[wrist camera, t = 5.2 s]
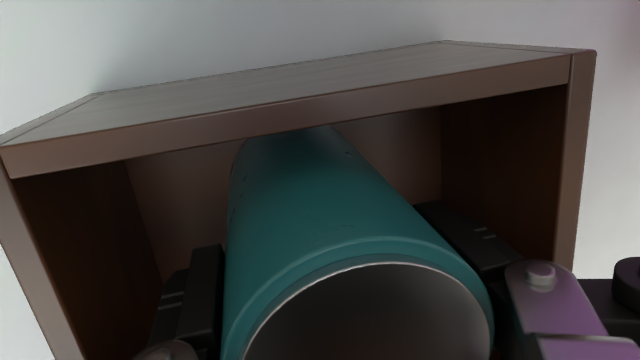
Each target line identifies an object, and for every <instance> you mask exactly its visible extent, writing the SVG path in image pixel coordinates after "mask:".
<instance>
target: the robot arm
mask: <svg viewBox="0 0 640 360" xmlns="http://www.w3.org/2000/svg"><path fill="white" fill-rule="evenodd" d="M412 207H413V208H414V209H415V210H416V211H417V212H418V213H419V214H420V215H421V216H422V217H423V218H424V219H425V220H426V221H427V222H428V223H429V224H430V225H431V226H432V228H433V229H434V230H435V231H436V232H437V233H438V234H439V235H440V236H441V237H442V238H443V239H444V240H445V241H446V242H447V243H448V244H449V245H450V246H451V247H452V248H453V249H454V250H455V251H456V252H457V253H458V254H459V255H460V256H461V257H462V258H463V259H464V261H465V262H466V263H467V264H468V265H469V266H470V267H471V268H472V269H473V270H474V271H475V272H476V273H477V275H478V276H479V278H480V279H481V281H482V282H483V284H484V285H485V287H486V290H487V292H488V294H489V297H490V299H491V303H492V307H493V311H494V318H495V337H494V345H493V349H492V350H495V349H496V350H497V351H498V352H499V353H500V355H501V360H640V257H630V258H625V259H622V260H620V261H618V262H617V263H616V265H615V267H614V273H613V279H576V277H575V276H574V274H573V273H572V272H571V271H569V270H568V269H567V268H565V267H563V266H561V265H559V264H557V263H554V262H551V261H547V260H541V259H525V258H524V257H523V256H521V255H520V254H519V253H518V252H516V251H515V250H514V249H513V248H511V247H510V246H509V245H508V244H507V243H505V242H504V241H503V240H502V239H500V238H499V237H496V235H495V234H494V233H493V232H492V231H490V230H489V229H487V227H485V226H484V225H483V224H482V223H481V222H479V221H478V220H477V219H476V218H473V217H471V216H468V215H465V214H463V213H460V212H457V213H454V212H452V211H451V210H450V209H449V208H448V207H447V206H446V205H444V204H443V203H442V202H441V201H440V200H433V201H428V202H423V203H418V204H413V205H412ZM224 268H225V255H224V251H223V248H222V245H221V243H218V244H213V245H208V246H203V247H198V248H194V249H193V250H192V255H191V260H190V265H189V268H185V269H181V270H176V271H175V272H174V273H173V274H172V275H171V276H170V278H169V279H168V280H167V281H166V282H165V283H164V287H163V290H162V294H161V299H160V301H159V305H158V311H157V312H156V315H155V319H154V322H153V326H152V330H151V333H150V337H149V340H148V344H147V347H146V348H145V349H143V350H142V351H140V352H139V353H137V354H136V355H135V356H134V357H133V358H132V359H131V360H220V347H221V328H222V308H223V288H224Z"/></svg>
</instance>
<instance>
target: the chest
mask: <svg viewBox="0 0 640 360" xmlns="http://www.w3.org/2000/svg"><path fill="white" fill-rule="evenodd" d="M596 56H597V52H596V50H592V49H576V48H560V47H544V46H529V45H513V44H497V43H481V42H465V41H450V40H444V41H437V42H430V43H424V44H417V45H411V46H404V47H398V48H391V49H384V50H378V51H371V52H365V53H358V54H351V55H345V56H338V57H332V58H325V59H318V60H312V61H305V62H299V63H292V64H285V65H279V66H272V67H266V68H259V69H252V70H246V71H239V72H233V73H226V74H219V75H213V76H206V77H200V78H193V79H186V80H180V81H173V82H167V83H160V84H153V85H147V86H140V87H134V88H127V89H120V90H114V91H107V92H101V93H94V94H89V95H87V96H85V97H83V98H81V99H78V100H76V101H74V102H72V103H70V104H67V105H65V106H63V107H61V108H59V109H56V110H54V111H52V112H50V113H48V114H45V115H43V116H41V117H39V118H37V119H34V120H32V121H30V122H28V123H26V124H23V125H21V126H19V127H17V128H15V129H12V130H10V131H8V132H6V133H4V134H1V135H0V243H1V245H2V248H3V250H4V252H5V254H6V256H7V258H8V260H9V262H10V264H11V267H12V269H13V271H14V273H15V275H16V277H17V279H18V281H19V284H20V286H21V288H22V290H23V292H24V294H25V296H26V298H27V300H28V303H29V305H30V307H31V309H32V311H33V313H34V315H35V317H36V320H37V322H38V324H39V326H40V328H41V330H42V332H43V334H44V336H45V339H46V341H47V343H48V345H49V347H50V349H51V351H52V353H53V355H54V358H55V360H131V359H132V358H133V357H134V356H135V355H136V354H137V353H139V352H140V351H142V350H143V349H145V348H146V347H147V344H148V340H149V337H150V333H151V330H152V326H153V322H154V319H155V315H156V312H157V311H158V305H159V301H160V299H161V294H162V290H163V287H164V283H165V282H166V281H167V280H168V279H169V278H170V276H171V275H172V274H173V273H174V272H175V271H176V270H181V269H185V268H189V265H190V260H191V255H192V250H193V249H194V248H198V247H203V246H208V245H213V244H218V243H221V245H222V248H223V251H224V255H225V248H226V228H227V208H228V188H229V176H230V171H231V167H232V164H233V161H234V159H235V157H236V155H237V153H238V152H239V150H240V148H241V147H242V146H243V145H244V143H245V142H246V141H247V140H248V139H249V138H255V137H261V136H267V135H272V134H278V133H284V132H290V131H296V130H301V129H307V128H313V127H319V126H325V125H329V126H330V127H332V128H334V129H336V130H337V131H338V132H340V133H341V134H342V135H343V136H344V137H345V138H346V139H347V140H348V141H349V142H350V143H351V144H352V145H353V146H354V147H355V148H356V149H357V150H358V151H359V152H360V153H361V154H362V155H363V156H364V157H365V158H366V159H367V161H368V162H369V163H370V164H371V165H372V166H373V167H374V168H375V169H376V170H377V171H378V172H379V173H380V174H381V175H382V176H383V177H384V178H385V179H386V180H387V181H388V182H389V183H390V184H391V185H392V186H393V187H394V188H395V189H396V190H397V191H398V192H399V194H400V195H401V196H402V197H403V198H404V199H405V200H406V201H407V202H408V203H409V204H410V205H411V206H412V205H413V204H418V203H423V202H428V201H433V200H440V201H441V202H442V203H443V204H444V205H446V206H447V207H448V208H449V209H450V210H451V211H452V212H454V213H457V212H460V213H463V214H465V215H468V216H471V217H473V218H476V219H477V220H478V221H479V222H481V223H482V224H483V225H484V226H485V227H487V229H489V230H490V231H492V232H493V233H494V234H495V235H496V237H499V238H500V239H502V240H503V241H504V242H505V243H507V244H508V245H509V246H510V247H511V248H513V249H514V250H515V251H516V252H518V253H519V254H520V255H521V256H523V257H524V258H525V259H541V260H547V261H551V262H554V263H557V264H559V265H561V266H563V267H565V268H567V269H568V270H569V271H571V272H572V268H573V259H574V250H575V242H576V233H577V224H578V215H579V206H580V197H581V189H582V180H583V171H584V162H585V153H586V144H587V135H588V127H589V118H590V109H591V100H592V91H593V82H594V74H595V65H596ZM490 360H501V355H500V353H499V352H498V351H497V350H496V349H495V350H492V353H491V357H490Z"/></svg>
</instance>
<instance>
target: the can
mask: <svg viewBox="0 0 640 360" xmlns="http://www.w3.org/2000/svg"><path fill="white" fill-rule="evenodd" d="M494 337H495V318H494V311H493V307H492V303H491V299H490V297H489V294H488V292H487V290H486V287H485V285H484V284H483V282H482V281H481V279H480V278H479V276H478V275H477V273H476V272H475V271H474V270H473V269H472V268H471V267H470V266H469V265H468V264H467V263H466V262H465V261H464V259H463V258H462V257H461V256H460V255H459V254H458V253H457V252H456V251H455V250H454V249H453V248H452V247H451V246H450V245H449V244H448V243H447V242H446V241H445V240H444V239H443V238H442V237H441V236H440V235H439V234H438V233H437V232H436V231H435V230H434V229H433V228H432V226H431V225H430V224H429V223H428V222H427V221H426V220H425V219H424V218H423V217H422V216H421V215H420V214H419V213H418V212H417V211H416V210H415V209H414V208H413V207H412V206H411V205H410V204H409V203H408V202H407V201H406V200H405V199H404V198H403V197H402V196H401V195H400V194H399V192H398V191H397V190H396V189H395V188H394V187H393V186H392V185H391V184H390V183H389V182H388V181H387V180H386V179H385V178H384V177H383V176H382V175H381V174H380V173H379V172H378V171H377V170H376V169H375V168H374V167H373V166H372V165H371V164H370V163H369V162H368V161H367V159H366V158H365V157H364V156H363V155H362V154H361V153H360V152H359V151H358V150H357V149H356V148H355V147H354V146H353V145H352V144H351V143H350V142H349V141H348V140H347V139H346V138H345V137H344V136H343V135H342V134H341V133H340V132H338V131H337V130H336V129H334V128H332V127H330V126H329V125H325V126H319V127H313V128H307V129H301V130H296V131H290V132H284V133H278V134H272V135H267V136H261V137H255V138H249V139H248V140H247V141H246V142H245V143H244V145H243V146H242V147H241V148H240V150H239V152H238V153H237V155H236V157H235V159H234V161H233V164H232V167H231V171H230V176H229V188H228V208H227V228H226V248H225V268H224V288H223V308H222V328H221V347H220V360H490V357H491V353H492V349H493V345H494Z"/></svg>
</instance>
